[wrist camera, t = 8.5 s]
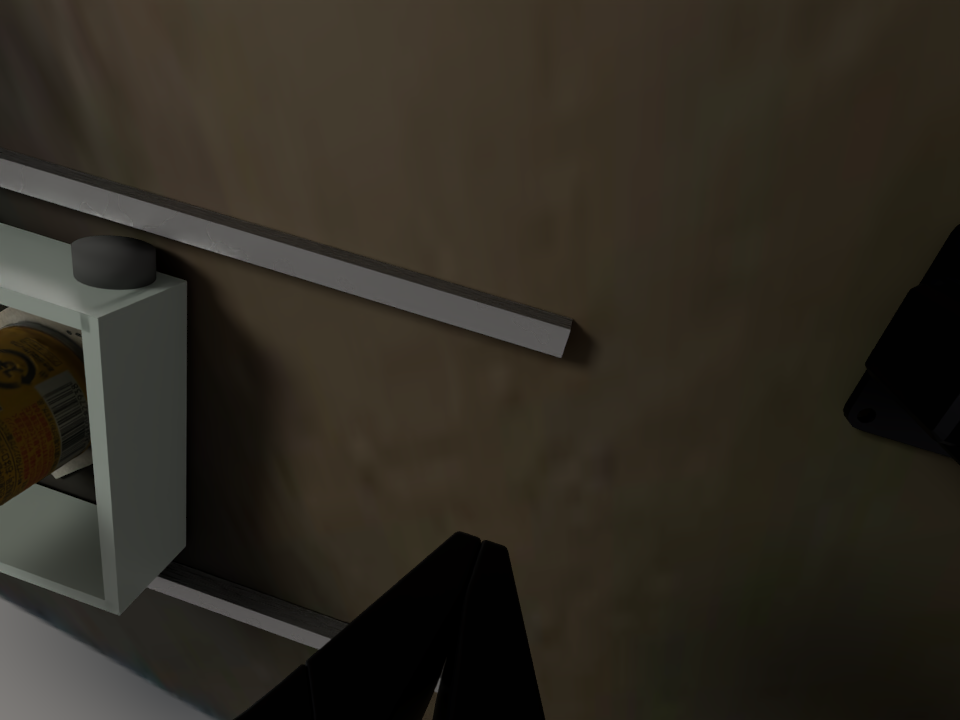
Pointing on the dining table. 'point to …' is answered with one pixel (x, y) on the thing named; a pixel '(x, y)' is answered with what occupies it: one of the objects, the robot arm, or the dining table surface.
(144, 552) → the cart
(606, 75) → the dining table surface
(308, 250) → the rails
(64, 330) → the condiment
